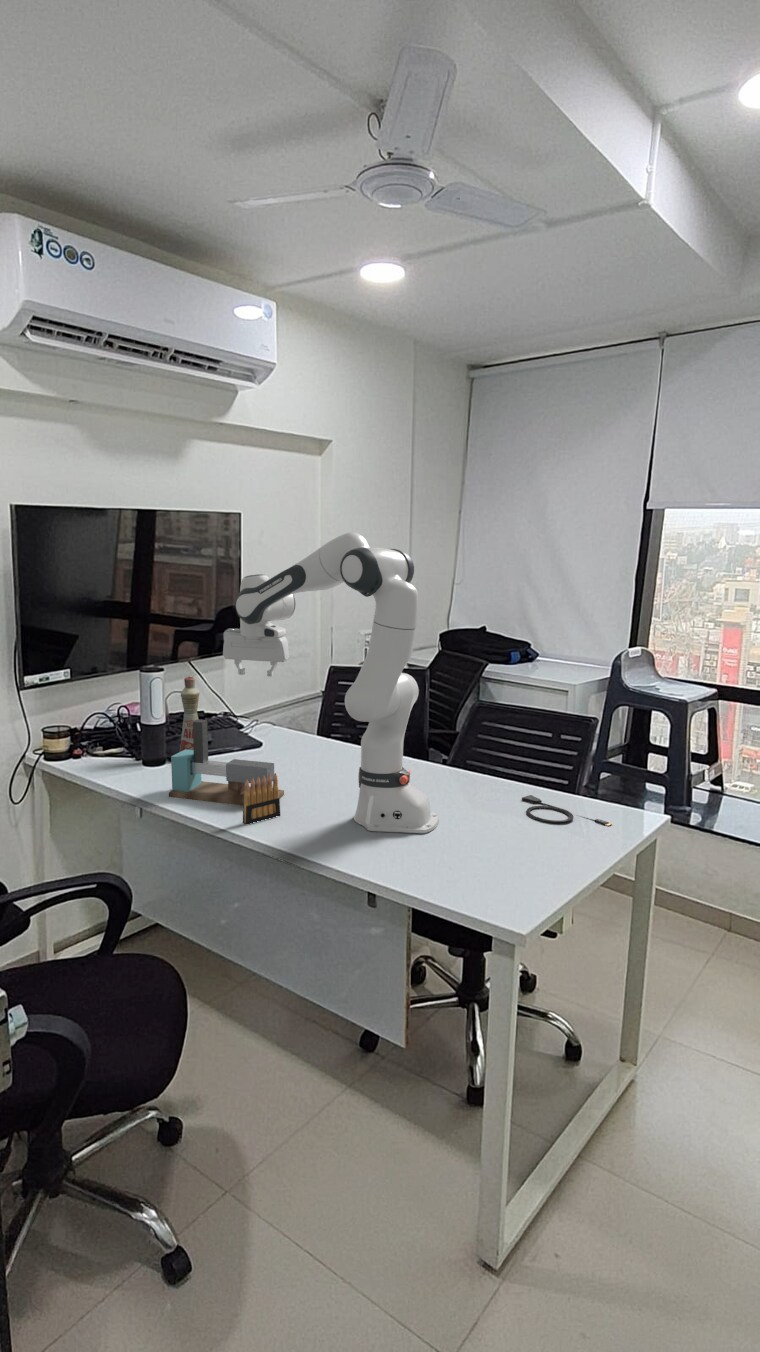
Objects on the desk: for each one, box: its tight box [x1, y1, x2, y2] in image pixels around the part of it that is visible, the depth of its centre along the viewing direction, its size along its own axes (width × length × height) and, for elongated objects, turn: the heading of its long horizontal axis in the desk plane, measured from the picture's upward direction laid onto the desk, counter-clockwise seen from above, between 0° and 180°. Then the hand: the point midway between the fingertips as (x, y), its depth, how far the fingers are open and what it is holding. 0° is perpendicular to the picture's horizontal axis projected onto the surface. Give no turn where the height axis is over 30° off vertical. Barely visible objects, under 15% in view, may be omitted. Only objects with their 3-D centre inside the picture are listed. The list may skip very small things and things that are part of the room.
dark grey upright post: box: [190, 719, 228, 778], centre depth 223 cm, size 19×3×15 cm, turn 74°
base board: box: [168, 780, 285, 807], centre depth 223 cm, size 30×12×6 cm, turn 74°
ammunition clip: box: [242, 772, 281, 825], centre depth 205 cm, size 11×2×12 cm, turn 132°
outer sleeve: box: [225, 758, 275, 785], centre depth 220 cm, size 12×5×5 cm, turn 74°
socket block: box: [170, 749, 202, 792], centre depth 226 cm, size 5×8×10 cm, turn 164°
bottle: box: [179, 675, 200, 752], centre depth 259 cm, size 9×9×28 cm
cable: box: [521, 794, 613, 828], centre depth 212 cm, size 14×28×2 cm, turn 40°
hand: (256, 675), depth 233 cm, fingers open, 8 cm apart
